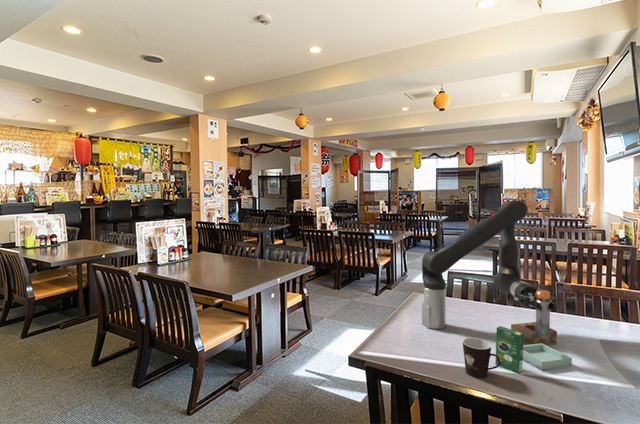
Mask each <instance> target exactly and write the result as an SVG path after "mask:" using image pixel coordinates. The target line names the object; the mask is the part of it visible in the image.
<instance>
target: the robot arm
mask: <svg viewBox="0 0 640 424" xmlns="http://www.w3.org/2000/svg"><path fill="white" fill-rule="evenodd" d="M528 209H529V208H528V206H527V204H526V203H525V201H522V200H517V199H513V200H509V201H507V202H504V203H502V204H501V205H500V206H499V208H498V212H496V213H494V214H493V215H491V216H489V217H487V218H485V219H482V220H479V221H478V222H475V223H474V224H473V225H470V226H469V227H467V229H464V230H463V231H462V232H460V234H459V235H458V237H457V238H456V239H455V241H454V242H453V243H452V244H451V245H450V246H447V248H445V249H444V250H441V251H440V252H438V251H435V250H429V251H427V252H425V253H424V255H423V256H422V260H421V261H422V262H421V272H422V274H421V276H422V282H423V302H422V303H421V324H422V325H423V326H424V327H426V328H428V329H433V330H434V329H435V330H443V329H445V328H446V322H447V321H446V304H447V303H446V300H447V299H446V297H447V295H446V293H447V289H446V288H447V287H446V284H447V283H446V281H445V279H444V277H443V273H445V272H447V271H448V270H449V269H451V268H452V267H453V266H454V265H455V264H456V263H457V262H459V261H460V260H461V259H463V258H464V257H466V256H467V255H470V253H471V252H474V251H475V250H477V249H479V248H480V247H481V246H482V245H484V244H486V243H487V242H488V241H490V240H491V239H493V237H495V236H497V235H498V234H500V249H499V251H500V252H499V266H500V267H501V268H504V269H507V270H508V271H509V273H505V272H498V273H496V274H495V275H494V277H493V284H494V286H495V287H496V288H497V289H498V290H500V291H503V292H506V293H509V294H510V295H511V296H513V297H514V298H513V300H514V302H516V303H518V304H519V305H523V306H524V307H528V306H530V307H533V308H535V309H536V308H537V309H538V310H541V303H539V302H537V301H536V290H539V289H538V288H537V287H535V286H533V285H532V284H530V283H528V282H525V281H523V280H522V278H521V275H520V271H519V265H518V264H519V263H518V262H519V246H518V243H517V238H516V236H515V235H516V234H515V230H516V229H515V227H516V223H517V222H519V221H521V220H523V219H524V218H526V216H527V214H528ZM556 302H557V299H556V297H555V295H552V294H550V310H552V311H556V309H557V303H556Z"/></svg>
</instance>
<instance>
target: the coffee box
mask: <svg viewBox="0 0 640 424" xmlns="http://www.w3.org/2000/svg"><path fill="white" fill-rule="evenodd" d="M495 336H496V339H495V355H497V356H498V357H499V358H500V361H501V364H500V366H499V367H501V368H503V369H507V370H509V371H512V372H514V373H517V374H521V372H523V363H524V362H523V361H524V360H523V345H524V333H520V332H517V331H514V330H511V328H507V327H504V326H502V325H499V326H498V327H496V335H495ZM498 363H499V362H498V359H497V358H496V357H495V365H496V366H497V365H498Z"/></svg>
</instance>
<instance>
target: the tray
mask: <svg viewBox="0 0 640 424" xmlns="http://www.w3.org/2000/svg"><path fill="white" fill-rule="evenodd" d="M523 361H524V362H525V363H528V364H529V365H530V366H533V367H534V368H536V369H538V370H539V371H542V372H543V371H545V372H546V371H549V370H550V371H551V370H559V369H564V368H565V369H566V368H572V367H573V366H572V365H573V364H572V362H573V357H571V356H568V354H567V355H566V354H565V353H563V352H560V351H558V350H557V349H555V348H552V347H550V346H549V345H544V344H542V343H540V344H531V345H526V344H523Z"/></svg>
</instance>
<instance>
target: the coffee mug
mask: <svg viewBox="0 0 640 424" xmlns="http://www.w3.org/2000/svg"><path fill="white" fill-rule="evenodd" d="M462 349H463V358H464V366H465V372H466V373H465V374H467V375H468V376H469V377H472V378H474V379H485V378H487V377H488V374H489V371H491V370H495V369H497V368H499V367H501V366H500V364H501V361H500V358H499V357H498V356H497V355H496V353H492V344H491V343H490V342H489V341H488V340H485V339H482V338H477V337H466V338H463V339H462ZM491 356H492V357H495V359H496V358H497V359H498V362H499V363H498V365H497V364H496V365H495V366H491V367H489V366H490V359H491Z"/></svg>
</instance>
